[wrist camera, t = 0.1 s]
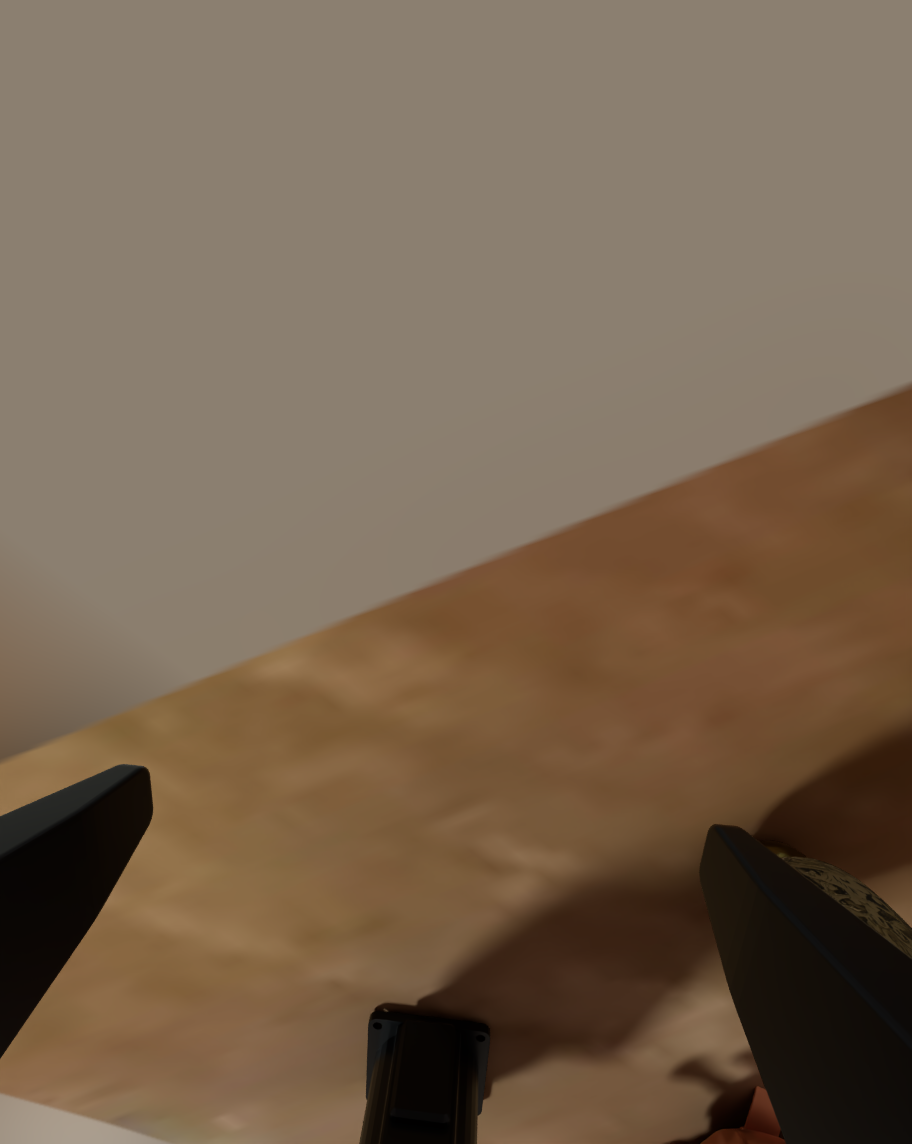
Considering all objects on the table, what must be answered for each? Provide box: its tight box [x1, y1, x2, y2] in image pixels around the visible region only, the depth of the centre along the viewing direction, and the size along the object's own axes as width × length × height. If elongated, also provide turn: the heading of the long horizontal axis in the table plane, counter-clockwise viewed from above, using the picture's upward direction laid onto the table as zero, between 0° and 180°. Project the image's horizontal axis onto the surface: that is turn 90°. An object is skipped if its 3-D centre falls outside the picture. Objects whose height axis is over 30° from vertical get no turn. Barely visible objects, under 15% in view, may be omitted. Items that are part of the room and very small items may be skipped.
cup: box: [759, 840, 912, 958], centre depth 22 cm, size 7×7×8 cm
